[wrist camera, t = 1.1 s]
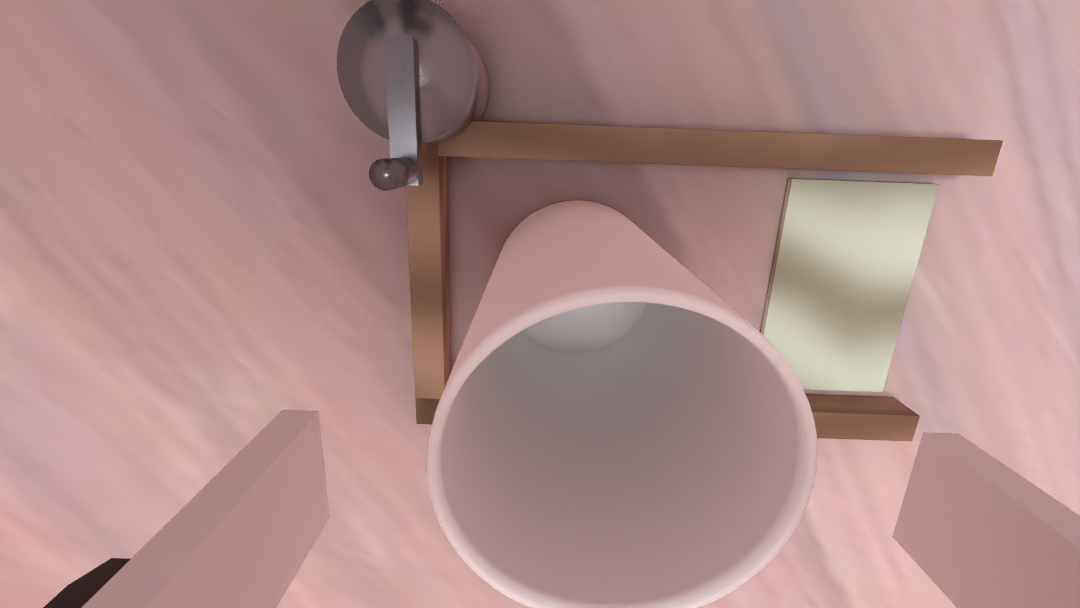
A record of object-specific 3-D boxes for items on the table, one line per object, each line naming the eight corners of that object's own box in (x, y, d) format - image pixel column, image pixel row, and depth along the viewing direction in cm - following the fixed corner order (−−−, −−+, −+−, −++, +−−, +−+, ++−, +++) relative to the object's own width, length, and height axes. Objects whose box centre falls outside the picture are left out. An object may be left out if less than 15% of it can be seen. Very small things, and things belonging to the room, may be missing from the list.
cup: (688, 275, 25) (902, 466, 10) (578, 382, 27) (622, 679, 12) (571, 164, 24) (618, 195, 9) (463, 286, 26) (345, 489, 11)
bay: (414, 120, 23) (402, 118, 21) (965, 140, 23) (1002, 140, 21) (425, 404, 28) (416, 423, 26) (887, 421, 28) (912, 441, 26)
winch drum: (376, 23, 22) (285, -43, 14) (489, 28, 22) (458, -37, 14) (385, 174, 24) (309, 187, 16) (488, 178, 24) (461, 193, 16)
